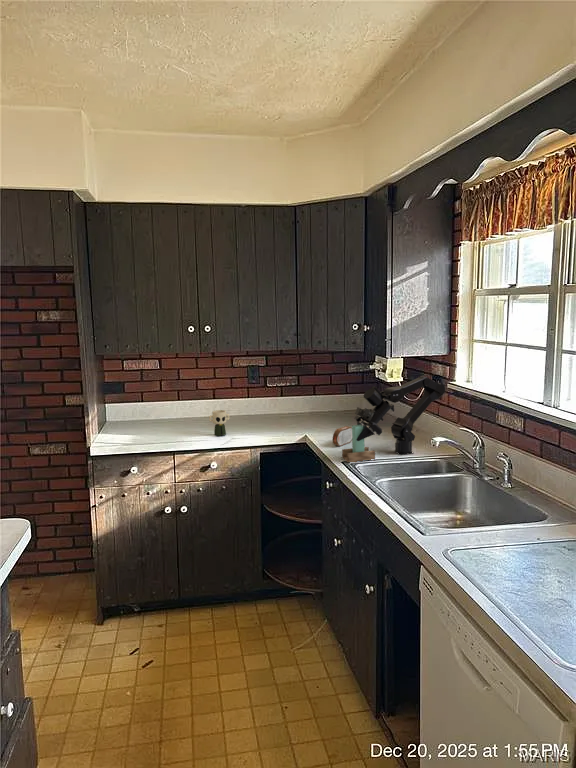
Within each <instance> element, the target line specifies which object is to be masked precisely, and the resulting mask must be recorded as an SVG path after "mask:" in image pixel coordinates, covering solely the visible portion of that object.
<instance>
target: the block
mask: <svg viewBox="0 0 576 768" xmlns="http://www.w3.org/2000/svg"><path fill="white" fill-rule="evenodd" d="M351 427H352V441H351V442H352V445H351V446H352V447H351V448H352V449H353V453H354V452H364V451H365V450H364V447H365V438H364V439H362V440H360V441H357V440H356V439H357V438H358V436H359V435H360V433H361V432H362V430H363V426H362V425H357V424H355V425H351Z"/></svg>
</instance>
